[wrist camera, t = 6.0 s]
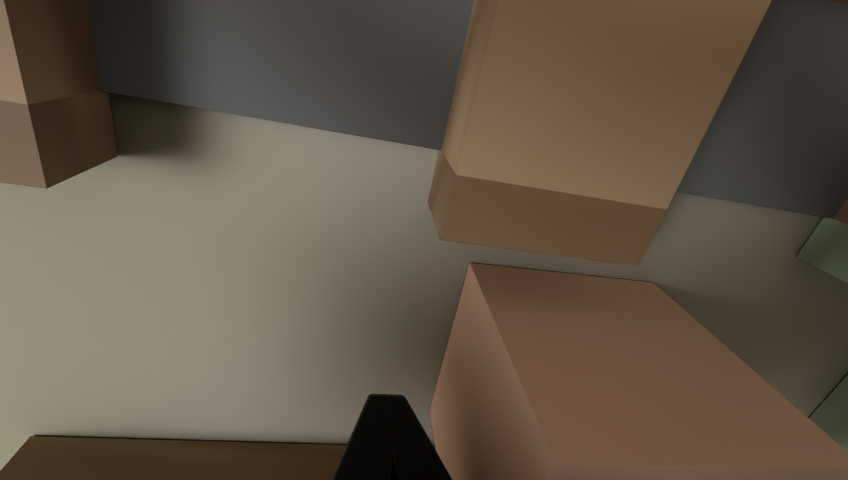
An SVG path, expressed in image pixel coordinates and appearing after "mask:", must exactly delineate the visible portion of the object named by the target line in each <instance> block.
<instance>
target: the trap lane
mask: <svg viewBox="0 0 848 480" xmlns="http://www.w3.org/2000/svg"><path fill="white" fill-rule="evenodd" d="M109 92H111V93H117V94H122V95H128V96H134V97H139V98H145V99H151V100H157V101H162V102H168V103H174V104H179V105H185V106H191V107H197V108H202V109H208V110H214V111H219V112H225V113H231V114H237V115H242V116H248V117H254V118H259V119H265V120H271V121H277V122H282V123H288V124H294V125H299V126H305V127H311V128H317V129H322V130H328V131H334V132H340V133H345V134H351V135H357V136H362V137H368V138H374V139H380V140H385V141H391V142H397V143H402V144H408V145H414V146H420V147H425V148H431V149H437V150H439V154H438V159H437V163H436V168H435V172H434V177H433V182H432V186H431V191H430V195H429V200H428V204H429V207H430V210H431V213H432V216H433V219H434V222H435V225H436V228H437V231H438V234H439V237H440V240H445V241H453V242H460V243H468V244H476V245H483V246H491V247H499V248H506V249H514V250H521V251H529V252H537V253H544V254H552V255H560V256H567V257H575V258H583V259H590V260H598V261H606V262H613V263H621V264H629V265H636V266H639V264H640V262H641V260H642V258H643V256H644V254H645V252H646V250H647V248H648V246H649V244H650V242H651V240H652V238H653V236H654V234H655V232H656V230H657V228H658V226H659V224H660V222H661V220H662V218H663V216H664V214H665V212H666V210H667V208H668V206H669V204H670V202H671V200H672V198H673V196H674V194H675V192H676V191H677V192H682V193H688V194H694V195H700V196H705V197H711V198H717V199H723V200H728V201H734V202H740V203H745V204H751V205H757V206H763V207H768V208H774V209H780V210H785V211H791V212H797V213H803V214H808V215H814V216H820V217H823V219H822V220H821V222H820V223H819V225H818V226H817V227H816V229H815V230H814V232H813V233H812V235H811V236H810V237H809V239H808V240H807V242H806V243H805V245H804V246H803V248H802V249H801V250H800V252H799V253H798V255H797V256H796V257H797V258H799V259H801V260H803V261H805V262H807V263H809V264H811V265H813V266H815V267H817V268H818V269H820V270H822V271H824V272H826V273H828V274H830V275H832V276H834V277H836V278H838V279H840V280H842V281H844V282H846V283H848V0H0V182H1V183H9V184H16V185H24V186H32V187H39V188H49V187H51V186H53V185H55V184H58V183H60V182H62V181H64V180H66V179H69V178H71V177H73V176H75V175H77V174H80V173H82V172H84V171H86V170H88V169H91V168H93V167H95V166H97V165H100V164H102V163H104V162H106V161H108V160H111V159H113V158H115V157H117V149H116V142H115V134H114V127H113V120H112V113H111V106H110V99H109ZM809 419H810V420H811V421H812V422H814V423H815V424H816V425H817V426H818V427H819V428H820V429H822V430H823V431H824V432H825V433H826V434H827V435H829V436H830V437H831V438H832V439H833V440H834V441H835V442H837V443H838V444H839V445H840V446H841V447H842V448H843V449H845V450H846V451H847V452H848V375H847V376H846V377H845V378H844V379H843V380H842V382H841V383H840V384H839V385H838V386H837V387H836V388H835V389H834V391H833V392H832V393H831V394H830V395H829V396H828V397H827V398H826V400H825V401H824V402H823V403H822V404H821V405H820V406H819V407H818V409H817V410H816V411H815V412H814V413H813V414H812V415H811V416H810V418H809ZM346 446H347V445H324V444H289V443H253V442H218V441H182V440H147V439H111V438H76V437H40V436H30V437H29V439H28V440H27V441H26V442H25V443H24V444H23V446H22V447H21V448H20V449H19V450H18V451H17V452H16V454H15V455H14V456H13V457H12V458H11V459H10V461H9V462H8V463H7V464H6V465H5V466H4V467H3V469H2V470H1V471H0V480H332V479H333V477H334V474H335V472H336V470H337V467H338V465H339V463H340V460H341V458H342V456H343V453H344V451H345V449H346ZM435 450H436V448H435Z"/></svg>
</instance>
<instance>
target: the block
mask: <svg viewBox="0 0 848 480" xmlns="http://www.w3.org/2000/svg"><path fill="white" fill-rule="evenodd" d="M430 415H431V421H432V428H433V435H434V441H435V448H436V452H437V453H438V455H439V457H440V459H441V460H442V462H443V464H444V466H445V467H446V469H447V471H448V473H449V474H450V476H451V478H452V480H848V452H847V451H846V450H845V449H843V448H842V447H841V446H840V445H839V444H838V443H837V442H835V441H834V440H833V439H832V438H831V437H830V436H829V435H827V434H826V433H825V432H824V431H823V430H822V429H820V428H819V427H818V426H817V425H816V424H815V423H814V422H812V421H811V420H810V419H809V418H808V417H807V416H806V415H804V414H803V413H802V412H801V411H800V410H799V409H798V408H796V407H795V406H794V405H793V404H792V403H791V402H789V401H788V400H787V399H786V398H785V397H784V396H783V395H781V394H780V393H779V392H778V391H777V390H776V389H775V388H773V387H772V386H771V385H770V384H769V383H768V382H767V381H765V380H764V379H763V378H762V377H761V376H760V375H759V374H757V373H756V372H755V371H754V370H753V369H752V368H750V367H749V366H748V365H747V364H746V363H745V362H744V361H742V360H741V359H740V358H739V357H738V356H737V355H736V354H734V353H733V352H732V351H731V350H730V349H729V348H728V347H726V346H725V345H724V344H723V343H722V342H721V341H719V340H718V339H717V338H716V337H715V336H714V335H713V334H711V333H710V332H709V331H708V330H707V329H706V328H705V327H703V326H702V325H701V324H700V323H699V322H698V321H697V320H695V319H694V318H693V317H692V316H691V315H690V314H689V313H687V312H686V311H685V310H684V309H683V308H682V307H680V306H679V305H678V304H677V303H676V302H675V301H674V300H672V299H671V298H670V297H669V296H668V295H667V294H666V293H664V292H663V291H662V290H661V289H660V288H659V287H658V286H656V285H655V284H654V283H652V282H643V281H634V280H625V279H615V278H606V277H597V276H587V275H578V274H569V273H560V272H550V271H541V270H532V269H522V268H513V267H504V266H495V265H485V264H476V263H469V267H468V271H467V274H466V278H465V282H464V285H463V289H462V293H461V297H460V300H459V304H458V308H457V311H456V315H455V319H454V322H453V326H452V330H451V334H450V337H449V341H448V345H447V348H446V352H445V356H444V359H443V363H442V367H441V371H440V374H439V378H438V382H437V385H436V389H435V393H434V396H433V400H432V404H431V408H430Z"/></svg>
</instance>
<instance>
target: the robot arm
mask: <svg viewBox="0 0 848 480" xmlns="http://www.w3.org/2000/svg"><path fill="white" fill-rule="evenodd" d="M332 480H452V478H451V476H450V474H449V473H448V471H447V469H446V467H445V466H444V464H443V462H442V460H441V459H440V457H439V455H438V453H437V452H436V450H435V448H434V446H433V445H432V443H431V441H430V439H429V438H428V436H427V434H426V432H425V431H424V429H423V427H422V425H421V424H420V422H419V420H418V418H417V417H416V415H415V413H414V411H413V410H412V408H411V406H410V405H409V403H408V401H407V399H406V398H405V397H404V396H403V395H391V394H388V395H386V394H370V395H369V396H368V398H367V400H366V402H365V404H364V407H363V409H362V411H361V414H360V416H359V418H358V421H357V423H356V425H355V428H354V430H353V432H352V435H351V437H350V439H349V442H348V444H347V446H346V449H345V451H344V453H343V456H342V458H341V460H340V463H339V465H338V467H337V470H336V472H335V474H334V477H333V479H332Z"/></svg>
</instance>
